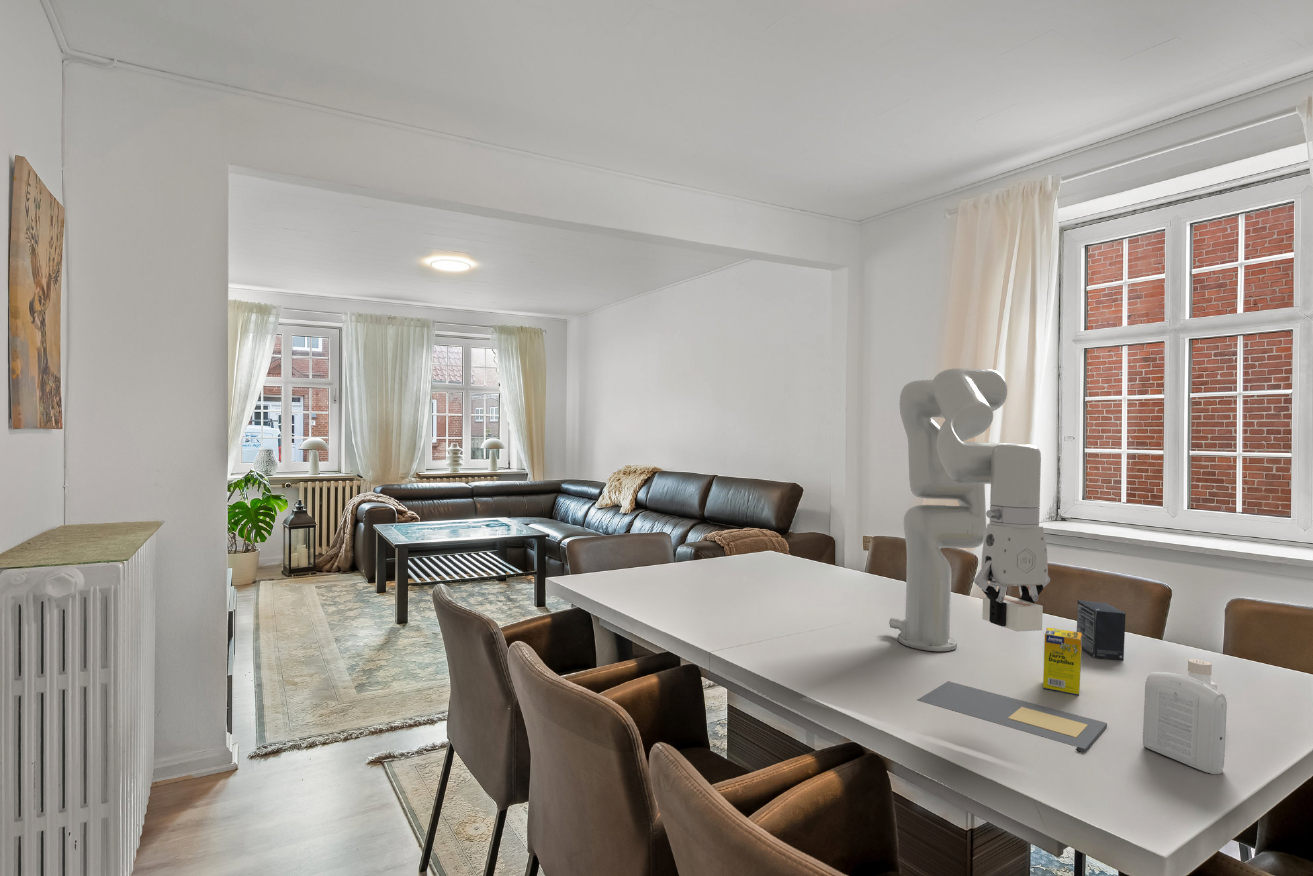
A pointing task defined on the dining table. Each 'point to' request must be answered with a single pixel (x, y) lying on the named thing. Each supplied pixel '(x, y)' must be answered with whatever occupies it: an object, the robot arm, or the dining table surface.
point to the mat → (1017, 714)
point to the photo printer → (1185, 720)
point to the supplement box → (1062, 661)
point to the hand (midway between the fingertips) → (1011, 622)
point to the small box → (1101, 629)
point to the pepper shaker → (1200, 671)
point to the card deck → (1018, 614)
